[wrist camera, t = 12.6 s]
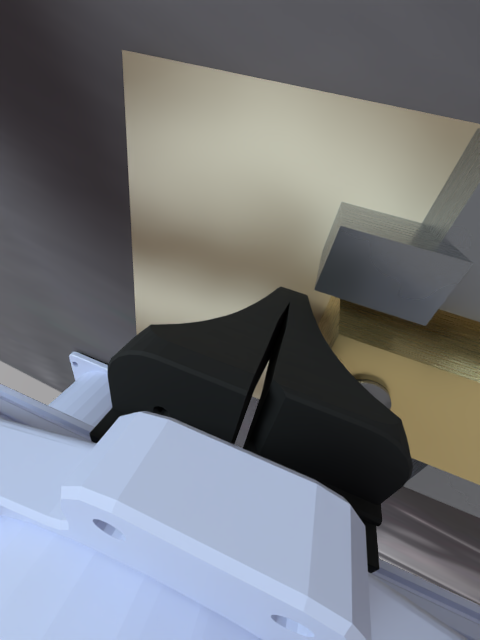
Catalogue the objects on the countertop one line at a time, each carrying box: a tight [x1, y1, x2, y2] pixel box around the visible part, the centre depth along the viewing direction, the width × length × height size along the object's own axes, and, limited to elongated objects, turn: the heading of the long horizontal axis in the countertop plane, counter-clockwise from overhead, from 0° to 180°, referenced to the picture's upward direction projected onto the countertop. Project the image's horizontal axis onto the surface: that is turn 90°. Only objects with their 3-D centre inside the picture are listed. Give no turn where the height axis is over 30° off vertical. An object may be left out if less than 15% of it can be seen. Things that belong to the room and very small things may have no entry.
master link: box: [318, 296, 480, 485], centre depth 9 cm, size 4×8×4 cm, turn 77°
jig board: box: [122, 50, 480, 399], centre depth 12 cm, size 14×18×1 cm
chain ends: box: [314, 128, 480, 518], centre depth 10 cm, size 14×9×4 cm, turn 166°
